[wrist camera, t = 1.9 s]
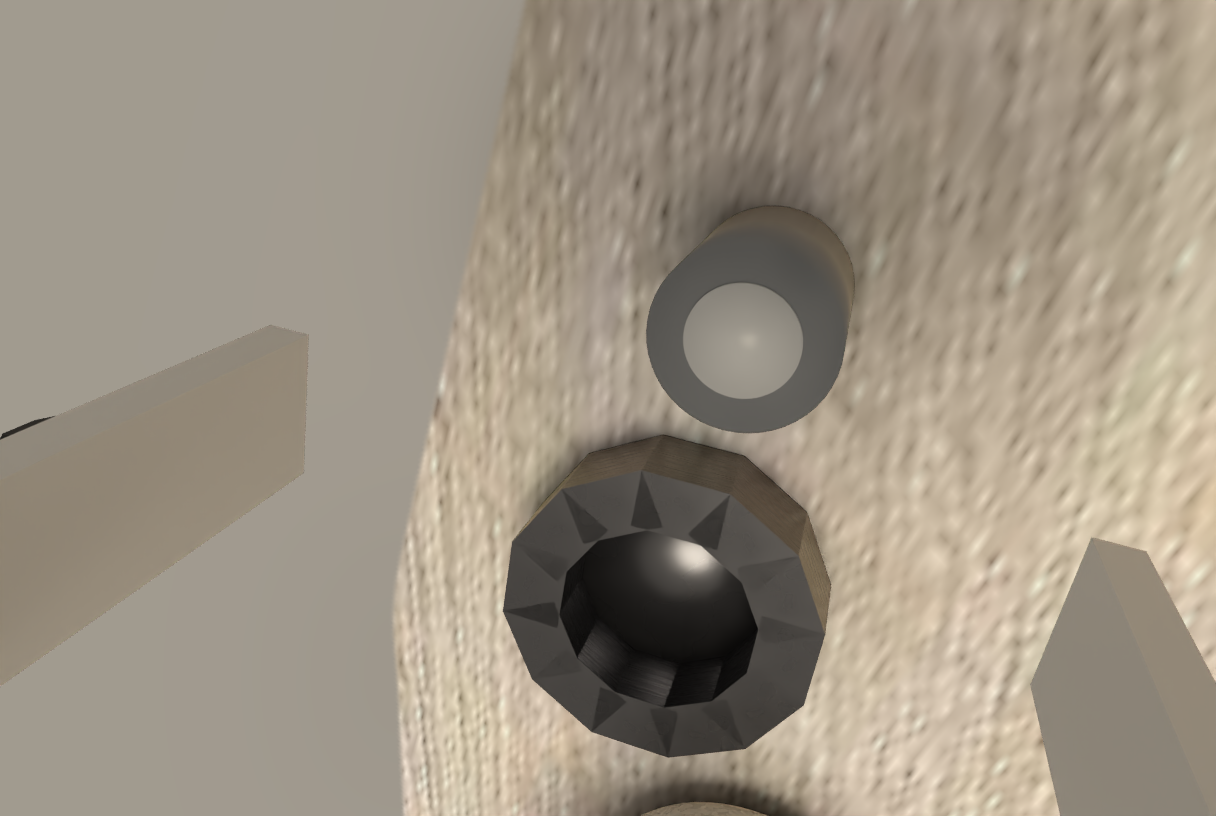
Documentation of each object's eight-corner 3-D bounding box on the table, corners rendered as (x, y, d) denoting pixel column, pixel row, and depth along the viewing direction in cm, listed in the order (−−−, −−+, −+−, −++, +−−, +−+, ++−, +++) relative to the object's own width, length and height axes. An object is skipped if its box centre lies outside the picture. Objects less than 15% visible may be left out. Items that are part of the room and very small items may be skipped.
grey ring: (556, 406, 32) (526, 438, 30) (860, 486, 30) (857, 528, 28) (521, 650, 36) (491, 698, 34) (786, 735, 34) (776, 793, 32)
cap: (708, 190, 28) (663, 223, 23) (873, 224, 27) (868, 267, 22) (678, 343, 30) (630, 408, 25) (831, 381, 29) (816, 456, 24)
